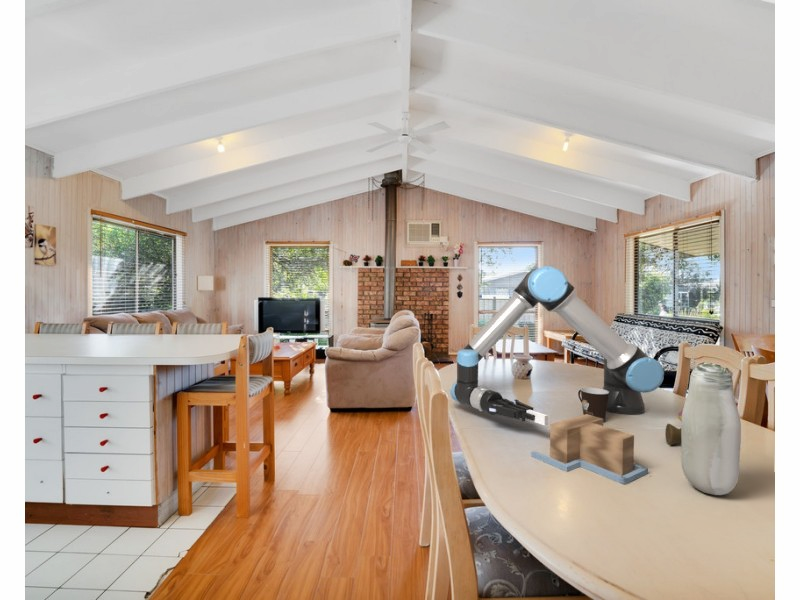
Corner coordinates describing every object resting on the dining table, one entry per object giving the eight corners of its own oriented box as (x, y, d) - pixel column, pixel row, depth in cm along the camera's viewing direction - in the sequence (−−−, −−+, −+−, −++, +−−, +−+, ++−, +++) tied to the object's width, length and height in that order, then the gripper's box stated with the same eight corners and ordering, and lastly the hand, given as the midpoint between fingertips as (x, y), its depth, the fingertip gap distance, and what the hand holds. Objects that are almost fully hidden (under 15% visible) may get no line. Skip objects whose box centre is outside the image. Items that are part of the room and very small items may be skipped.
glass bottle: (749, 504, 84) (753, 370, 83) (695, 500, 86) (698, 368, 85) (720, 481, 94) (723, 361, 93) (671, 478, 95) (674, 360, 94)
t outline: (531, 456, 108) (531, 451, 108) (580, 439, 119) (580, 435, 119) (610, 491, 89) (610, 485, 89) (659, 467, 101) (659, 463, 101)
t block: (549, 458, 107) (550, 424, 106) (585, 445, 115) (586, 413, 115) (609, 483, 93) (609, 444, 93) (644, 466, 102) (645, 431, 101)
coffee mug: (611, 425, 132) (612, 394, 131) (583, 423, 133) (584, 393, 133) (601, 414, 143) (602, 386, 143) (575, 412, 145) (576, 384, 144)
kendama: (679, 465, 104) (660, 436, 122) (725, 472, 100) (698, 441, 119) (681, 442, 103) (662, 416, 122) (727, 448, 100) (700, 421, 119)
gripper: (500, 408, 140) (560, 429, 120) (472, 415, 133) (531, 437, 113) (500, 387, 140) (560, 404, 120) (472, 392, 133) (531, 411, 113)
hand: (546, 420), depth 116 cm, fingers closed
